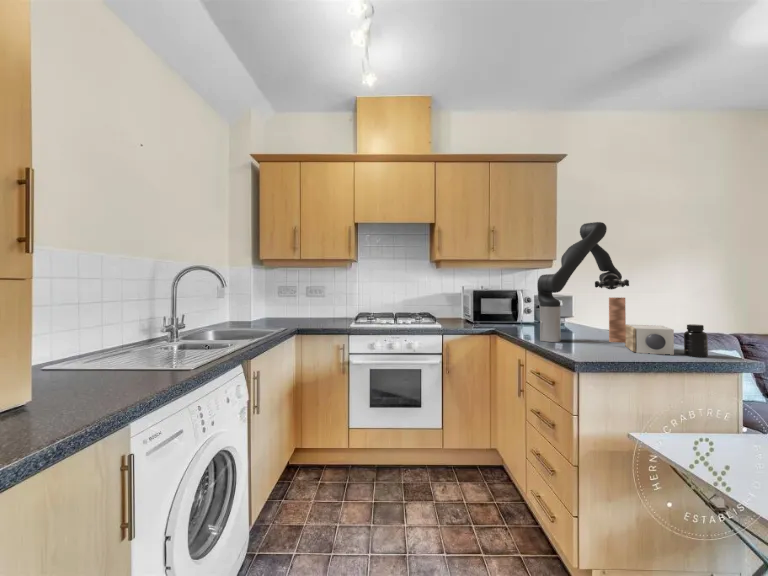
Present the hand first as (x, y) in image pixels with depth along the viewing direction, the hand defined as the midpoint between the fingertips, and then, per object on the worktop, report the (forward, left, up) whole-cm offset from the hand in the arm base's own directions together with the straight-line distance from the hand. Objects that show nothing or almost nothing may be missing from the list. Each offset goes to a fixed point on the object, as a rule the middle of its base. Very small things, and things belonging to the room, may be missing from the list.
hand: (611, 285), depth 166 cm
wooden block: (0, -22, -27) cm, 35 cm away
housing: (+10, -22, -27) cm, 36 cm away
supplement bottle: (+23, -28, -28) cm, 45 cm away
